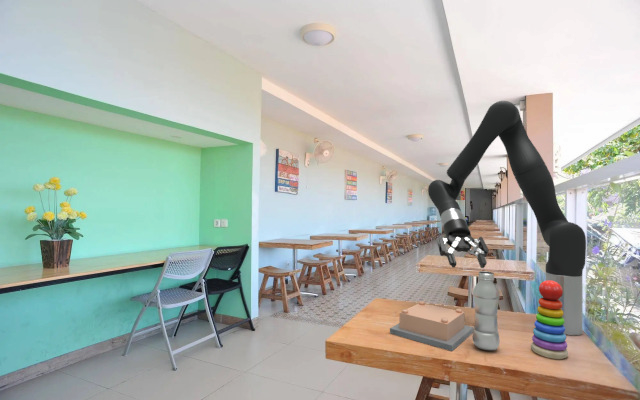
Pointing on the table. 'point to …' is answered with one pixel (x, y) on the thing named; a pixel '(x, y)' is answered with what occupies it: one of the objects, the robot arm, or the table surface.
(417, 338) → the brick tower base
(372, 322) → the table surface
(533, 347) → the stacking toy
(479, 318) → the plastic bottle
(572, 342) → the table surface
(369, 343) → the table surface
